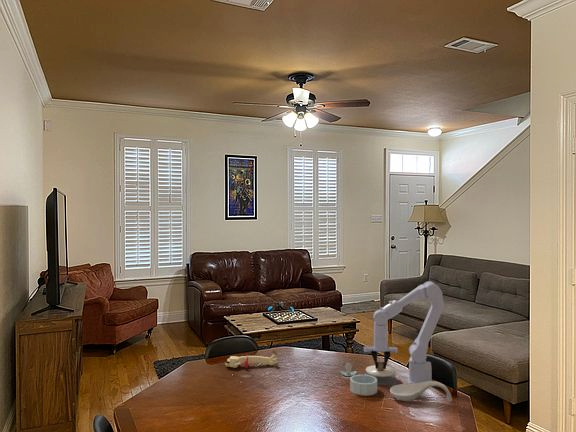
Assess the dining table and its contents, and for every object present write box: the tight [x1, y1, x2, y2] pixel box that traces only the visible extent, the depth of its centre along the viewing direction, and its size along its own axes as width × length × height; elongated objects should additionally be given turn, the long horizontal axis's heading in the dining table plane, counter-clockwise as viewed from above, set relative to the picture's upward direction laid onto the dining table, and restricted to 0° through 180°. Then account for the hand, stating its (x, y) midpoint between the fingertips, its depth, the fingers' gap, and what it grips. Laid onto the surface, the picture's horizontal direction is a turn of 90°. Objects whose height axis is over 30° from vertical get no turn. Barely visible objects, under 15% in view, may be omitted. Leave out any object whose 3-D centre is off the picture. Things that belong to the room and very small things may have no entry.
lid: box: [365, 360, 397, 377], centre depth 207 cm, size 13×13×4 cm
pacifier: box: [339, 362, 357, 379], centre depth 210 cm, size 7×6×6 cm
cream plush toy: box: [224, 349, 278, 369], centre depth 226 cm, size 10×9×25 cm
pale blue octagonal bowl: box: [349, 374, 378, 396], centre depth 194 cm, size 11×11×5 cm
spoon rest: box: [389, 380, 453, 403], centre depth 186 cm, size 24×12×7 cm, turn 85°
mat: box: [363, 372, 399, 386], centre depth 207 cm, size 14×14×1 cm
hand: (380, 368), depth 207 cm, fingers closed on lid, 3 cm apart
